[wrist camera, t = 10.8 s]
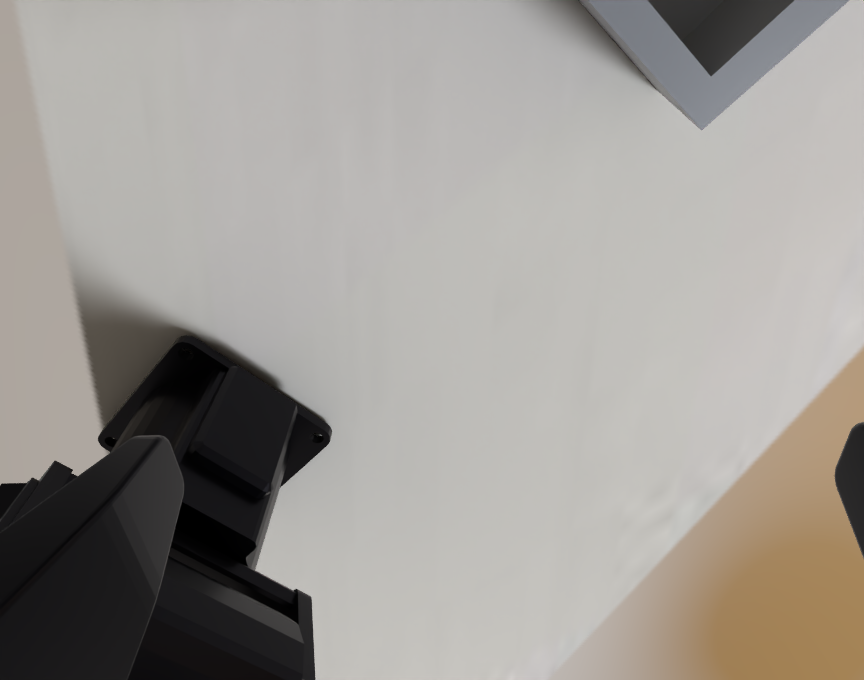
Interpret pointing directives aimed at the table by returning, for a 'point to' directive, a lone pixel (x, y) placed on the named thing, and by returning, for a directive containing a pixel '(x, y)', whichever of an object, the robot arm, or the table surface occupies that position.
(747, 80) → the tray
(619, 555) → the table surface
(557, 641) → the table surface
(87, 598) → the robot arm
